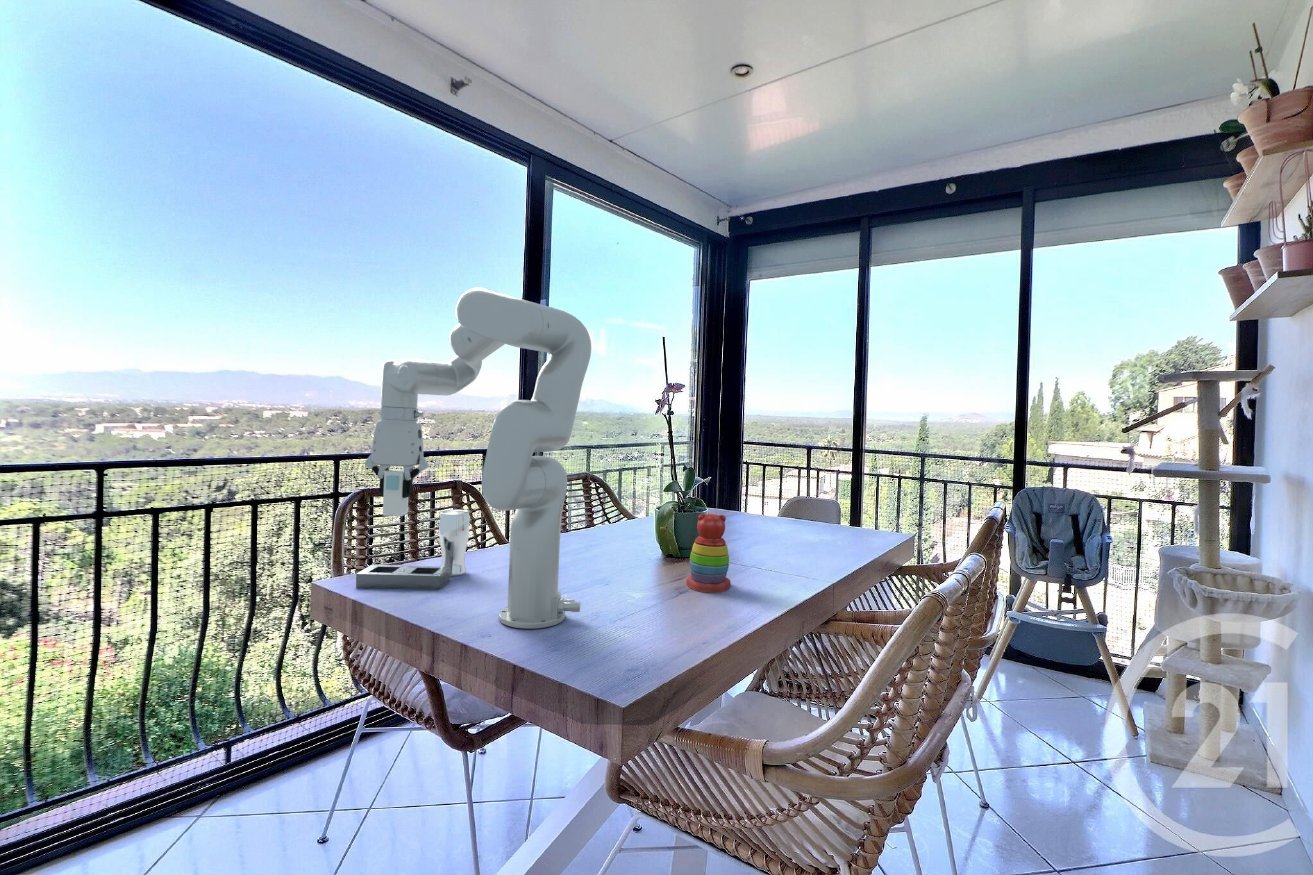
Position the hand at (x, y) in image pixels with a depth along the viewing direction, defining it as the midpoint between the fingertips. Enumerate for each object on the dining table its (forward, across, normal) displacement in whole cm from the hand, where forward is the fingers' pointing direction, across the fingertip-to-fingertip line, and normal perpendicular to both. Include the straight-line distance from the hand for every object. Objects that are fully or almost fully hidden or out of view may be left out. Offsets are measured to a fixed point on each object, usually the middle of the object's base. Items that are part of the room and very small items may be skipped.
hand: (395, 495), depth 135 cm
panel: (+20, -3, 0) cm, 20 cm away
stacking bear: (+19, -73, -5) cm, 75 cm away
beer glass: (+20, -11, -10) cm, 25 cm away
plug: (+4, 0, 0) cm, 4 cm away
